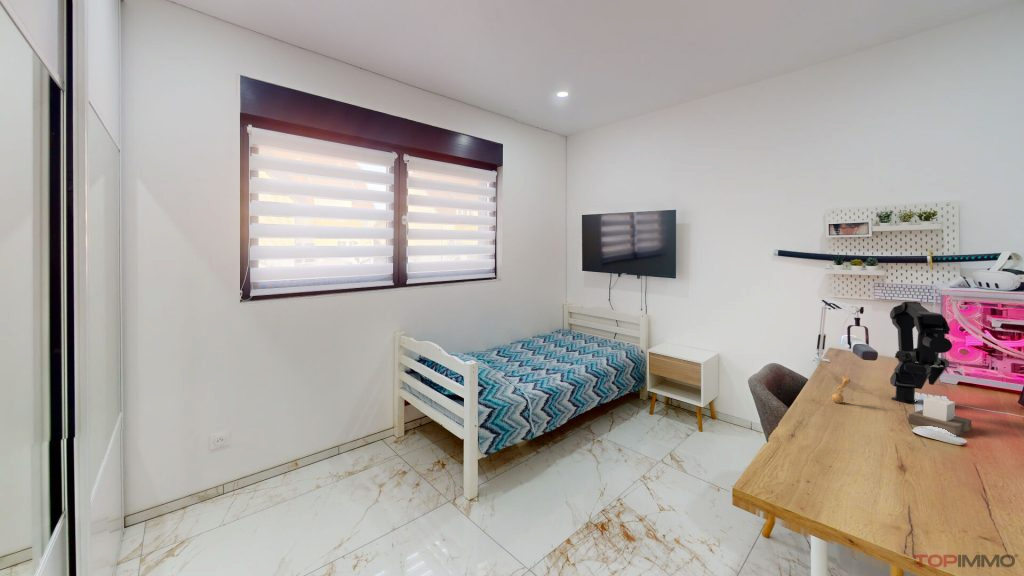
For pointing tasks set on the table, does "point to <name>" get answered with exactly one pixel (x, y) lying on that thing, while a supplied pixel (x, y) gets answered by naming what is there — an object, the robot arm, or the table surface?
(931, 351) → the robot arm
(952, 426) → the walnut slab
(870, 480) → the table surface
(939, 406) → the off-white cube
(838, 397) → the figurine
